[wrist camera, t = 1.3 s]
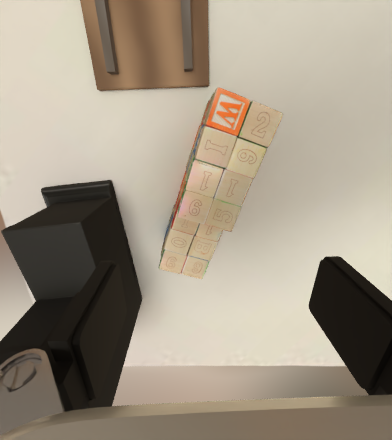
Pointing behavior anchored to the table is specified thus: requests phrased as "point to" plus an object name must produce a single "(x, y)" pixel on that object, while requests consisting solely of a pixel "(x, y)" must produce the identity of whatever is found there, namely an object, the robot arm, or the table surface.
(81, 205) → the bookend
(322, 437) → the robot arm
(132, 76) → the slot board
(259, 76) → the table surface
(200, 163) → the stack of blocks
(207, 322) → the table surface
